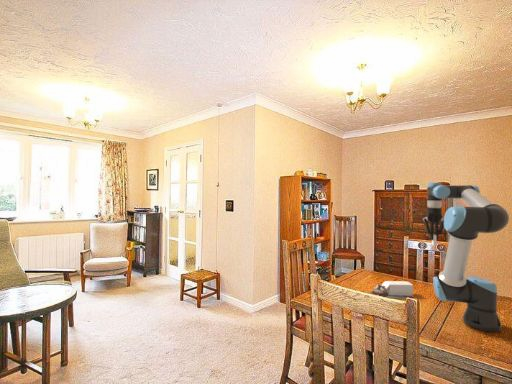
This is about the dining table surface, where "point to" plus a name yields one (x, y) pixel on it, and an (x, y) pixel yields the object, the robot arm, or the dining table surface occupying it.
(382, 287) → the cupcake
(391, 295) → the mat
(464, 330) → the dining table surface
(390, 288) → the milk carton
